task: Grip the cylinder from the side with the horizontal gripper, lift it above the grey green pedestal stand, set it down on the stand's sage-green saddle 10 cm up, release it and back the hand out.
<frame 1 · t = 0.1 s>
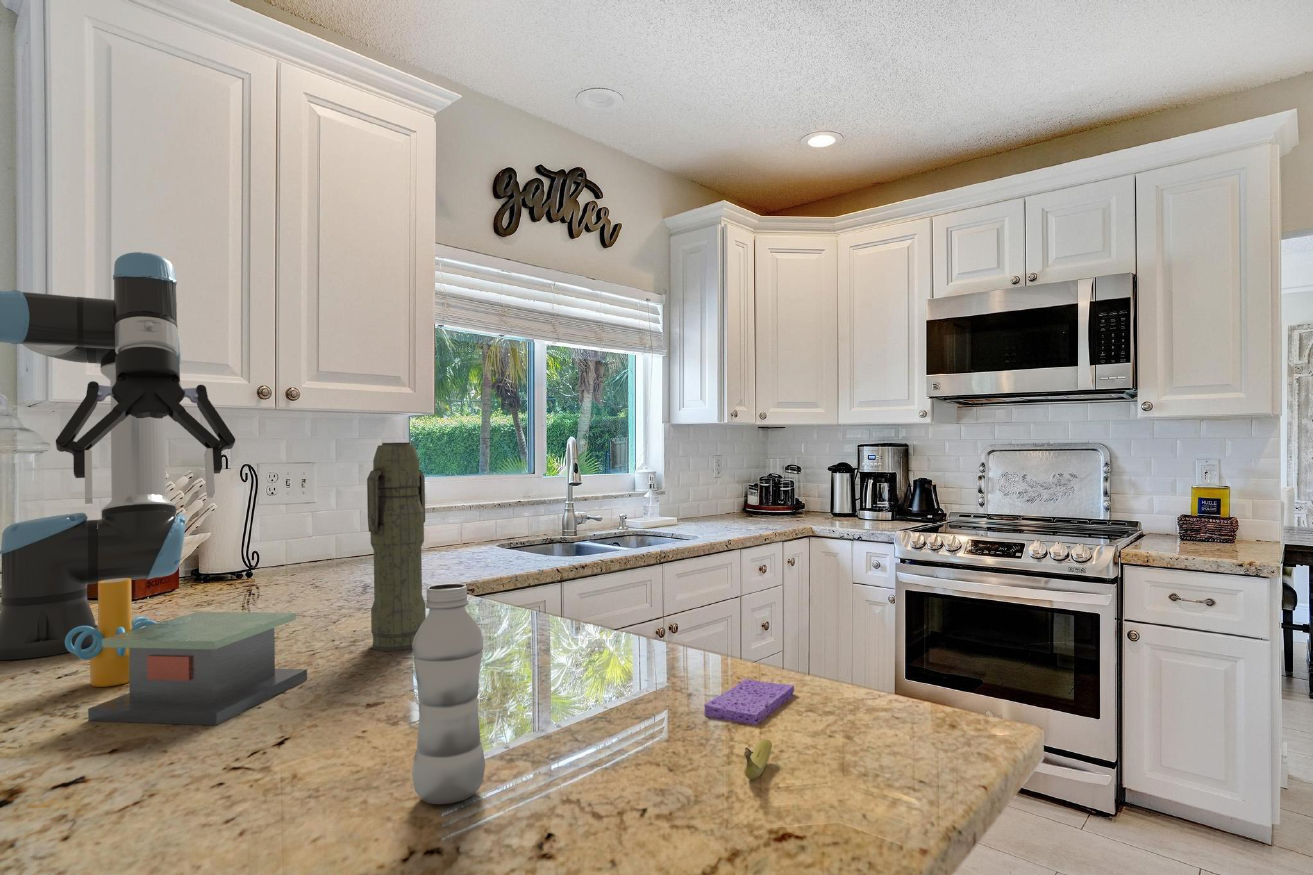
hand: (152, 498, 99), 28 cm above the countertop, tool tilted 20°, fingers open, 13 cm apart
banana: (757, 776, 73), on the countertop
grey green pedestal stand: (206, 698, 100), on the countertop
cylinder: (115, 682, 109), on the countertop
plastic bottle: (449, 799, 70), on the countertop
sponges: (751, 709, 93), on the countertop
thermos: (399, 645, 127), on the countertop
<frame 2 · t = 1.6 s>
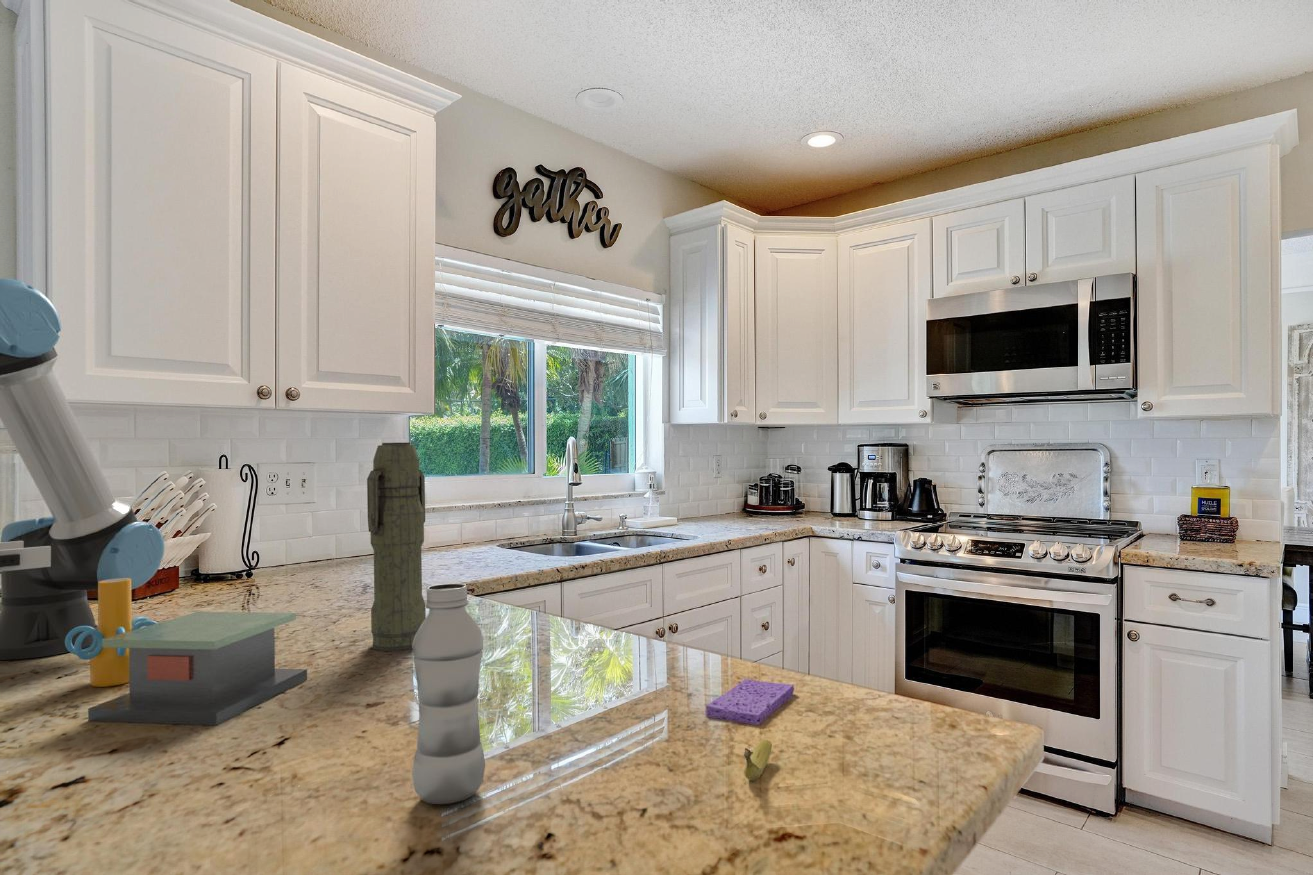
hand: (36, 553, 102), 20 cm above the countertop, tool horizontal, fingers open, 13 cm apart
nothing on the countertop moved.
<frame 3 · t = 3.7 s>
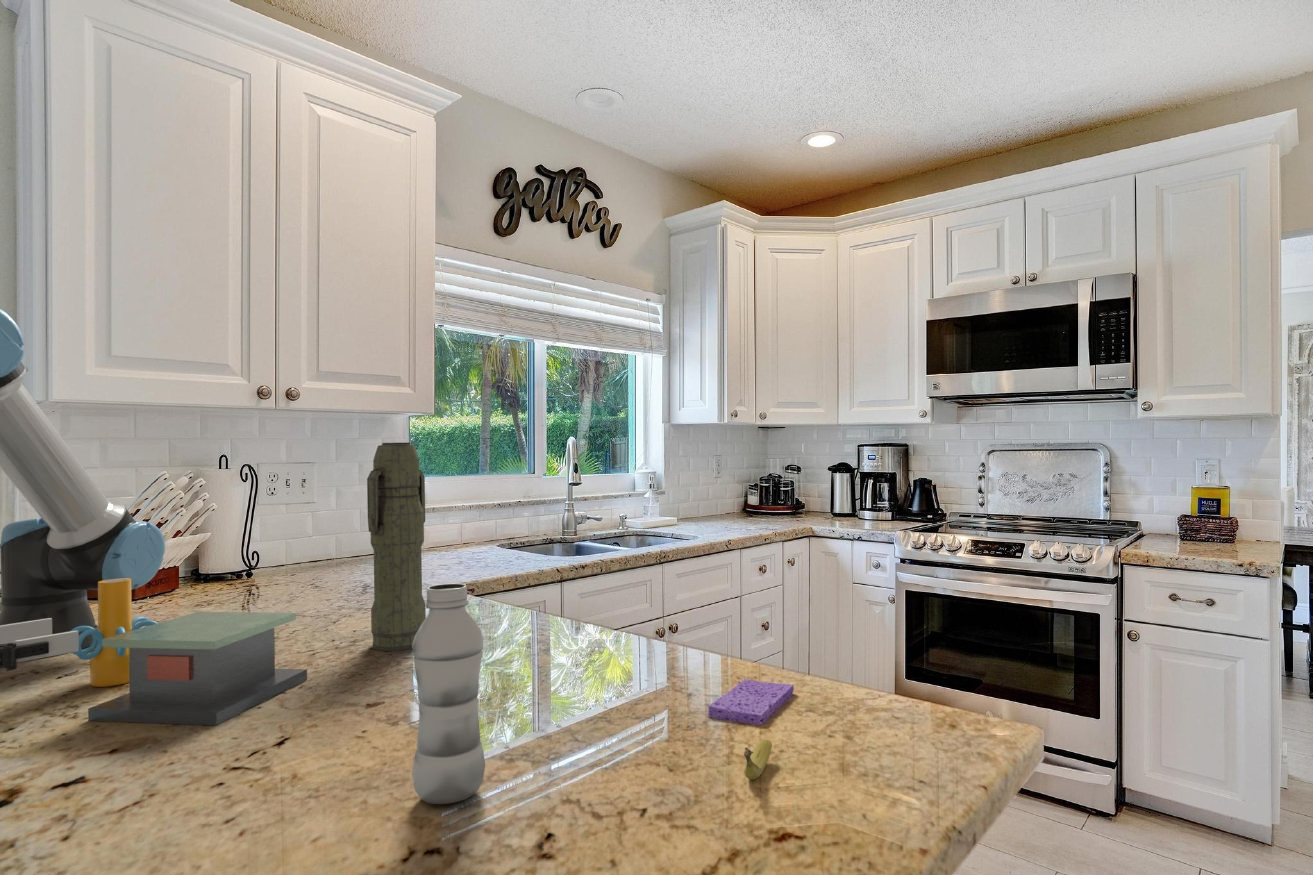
hand: (64, 633, 104), 8 cm above the countertop, tool horizontal, fingers open, 13 cm apart
nothing on the countertop moved.
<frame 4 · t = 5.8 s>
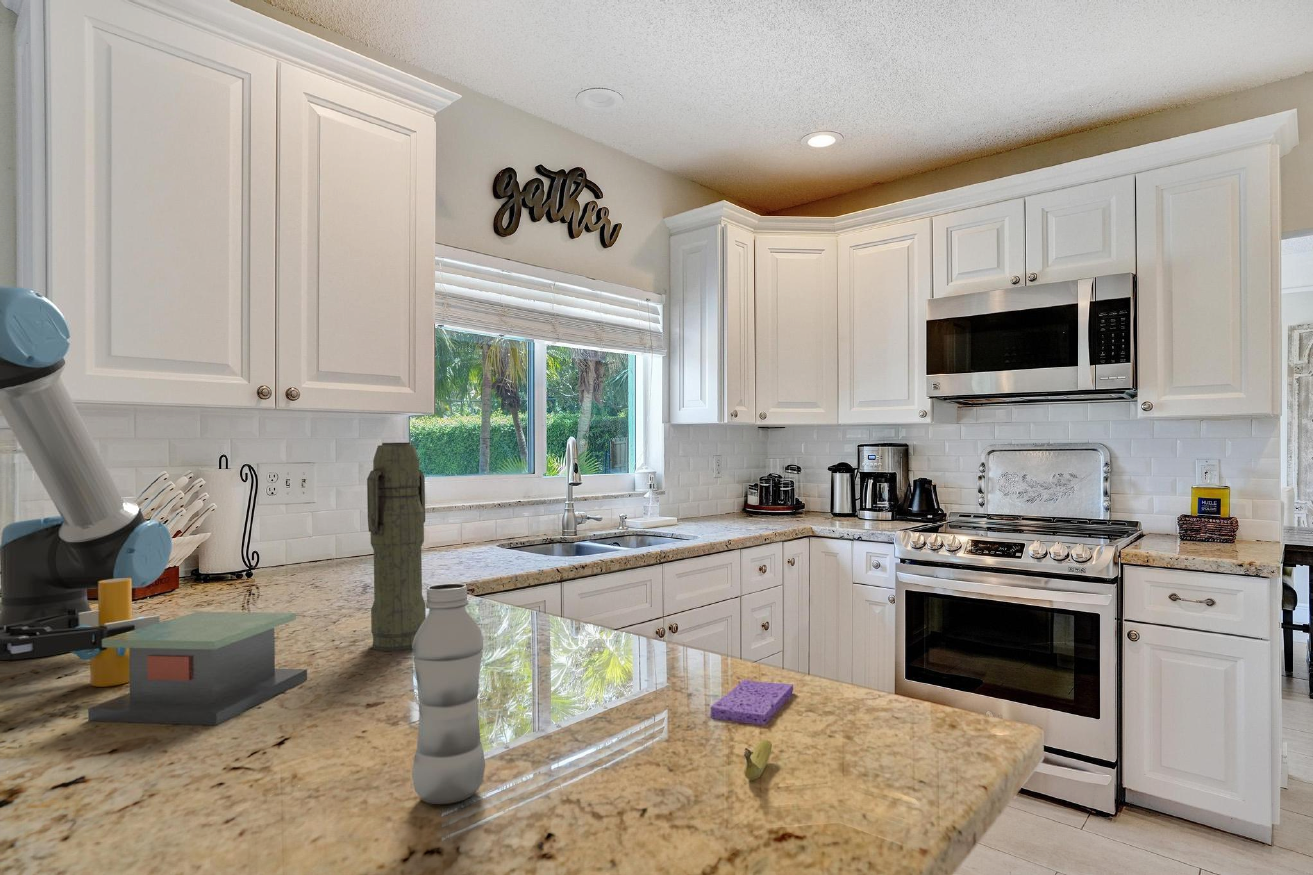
hand: (143, 619, 112), 9 cm above the countertop, tool horizontal, fingers closed on cylinder, 12 cm apart
cylinder: (115, 682, 109), on the countertop, touching gripper
everything else where it was.
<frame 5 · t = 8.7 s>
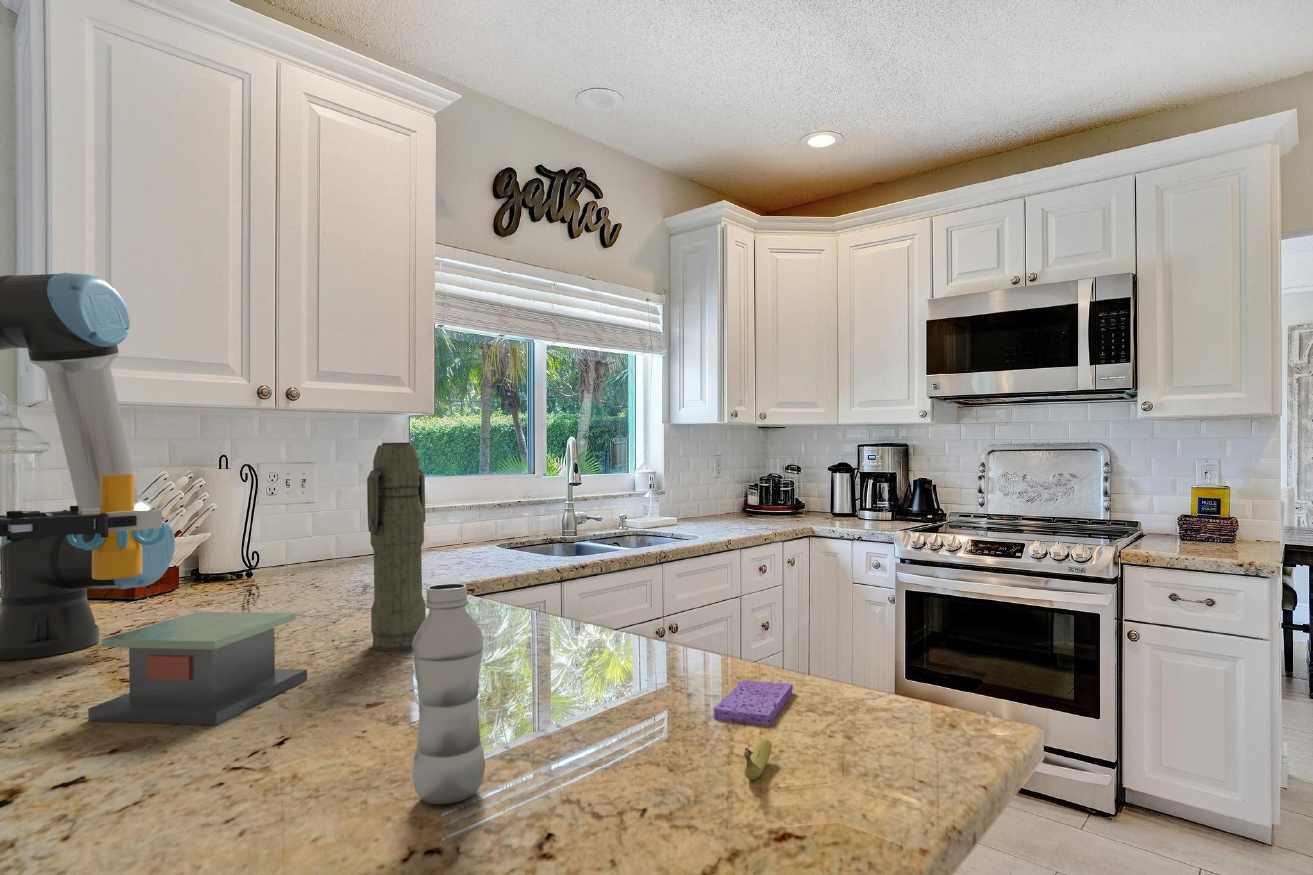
hand: (146, 516, 110), 24 cm above the countertop, tool horizontal, fingers closed on cylinder, 12 cm apart
cylinder: (117, 578, 107), point 16 cm above the countertop, touching gripper
everything else where it was.
when the fingers open (20 cm above the countertop, at t = 11.6 s): cylinder drops 1 cm, resting on grey green pedestal stand.
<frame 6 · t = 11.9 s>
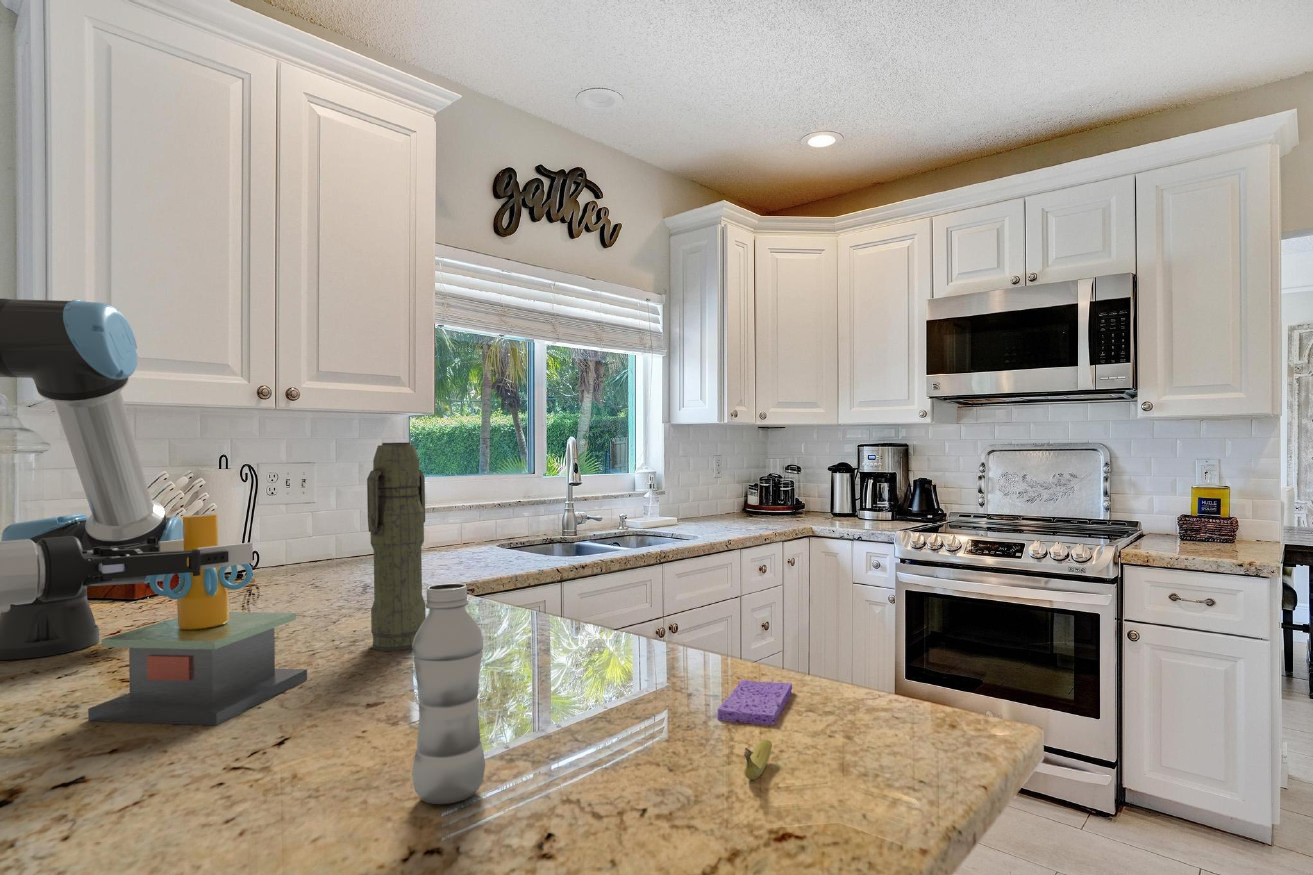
hand: (230, 549, 103), 20 cm above the countertop, tool horizontal, fingers open, 13 cm apart
cylinder: (204, 626, 100), point 10 cm above the countertop, touching grey green pedestal stand
everything else where it was.
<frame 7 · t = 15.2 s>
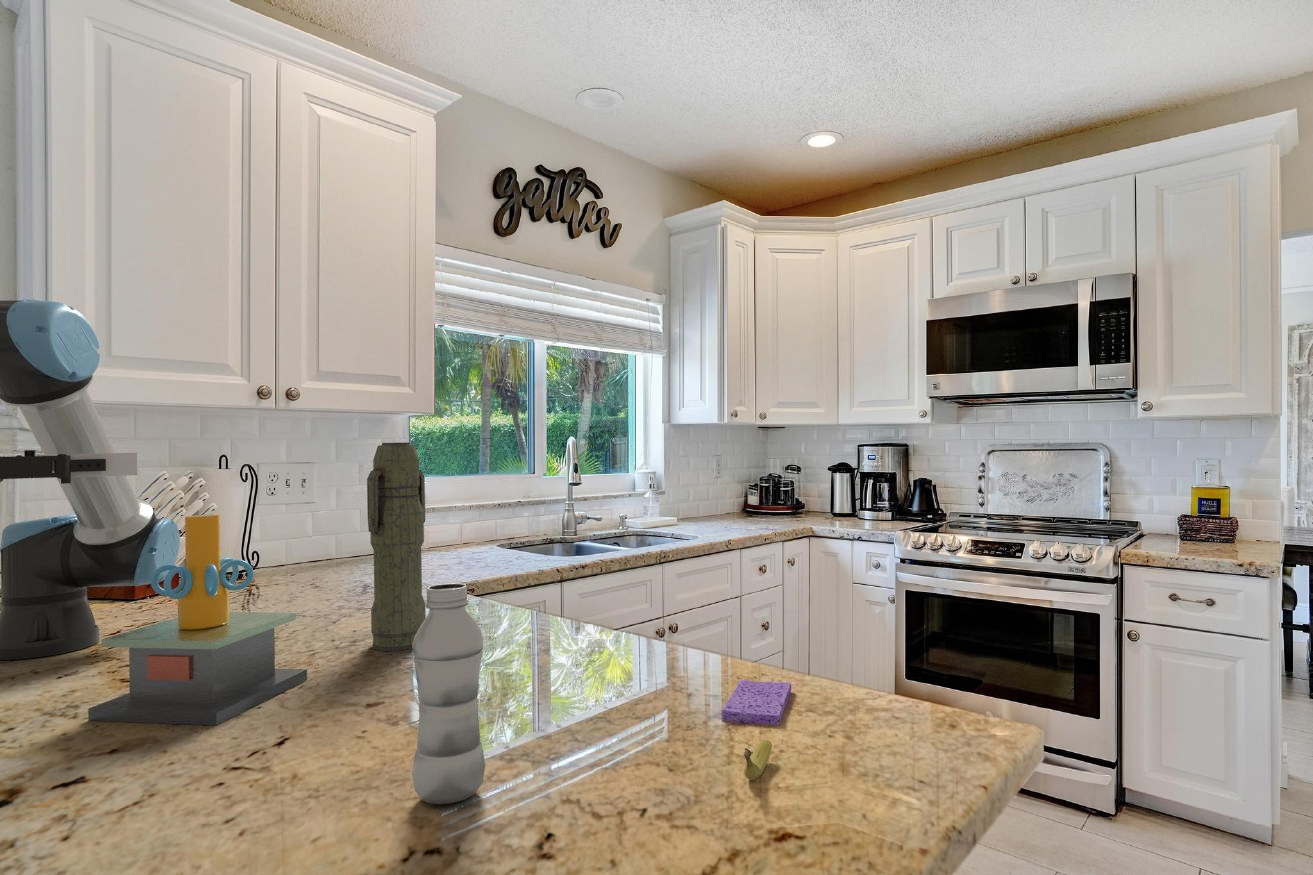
hand: (118, 463, 93), 32 cm above the countertop, tool horizontal, fingers open, 13 cm apart
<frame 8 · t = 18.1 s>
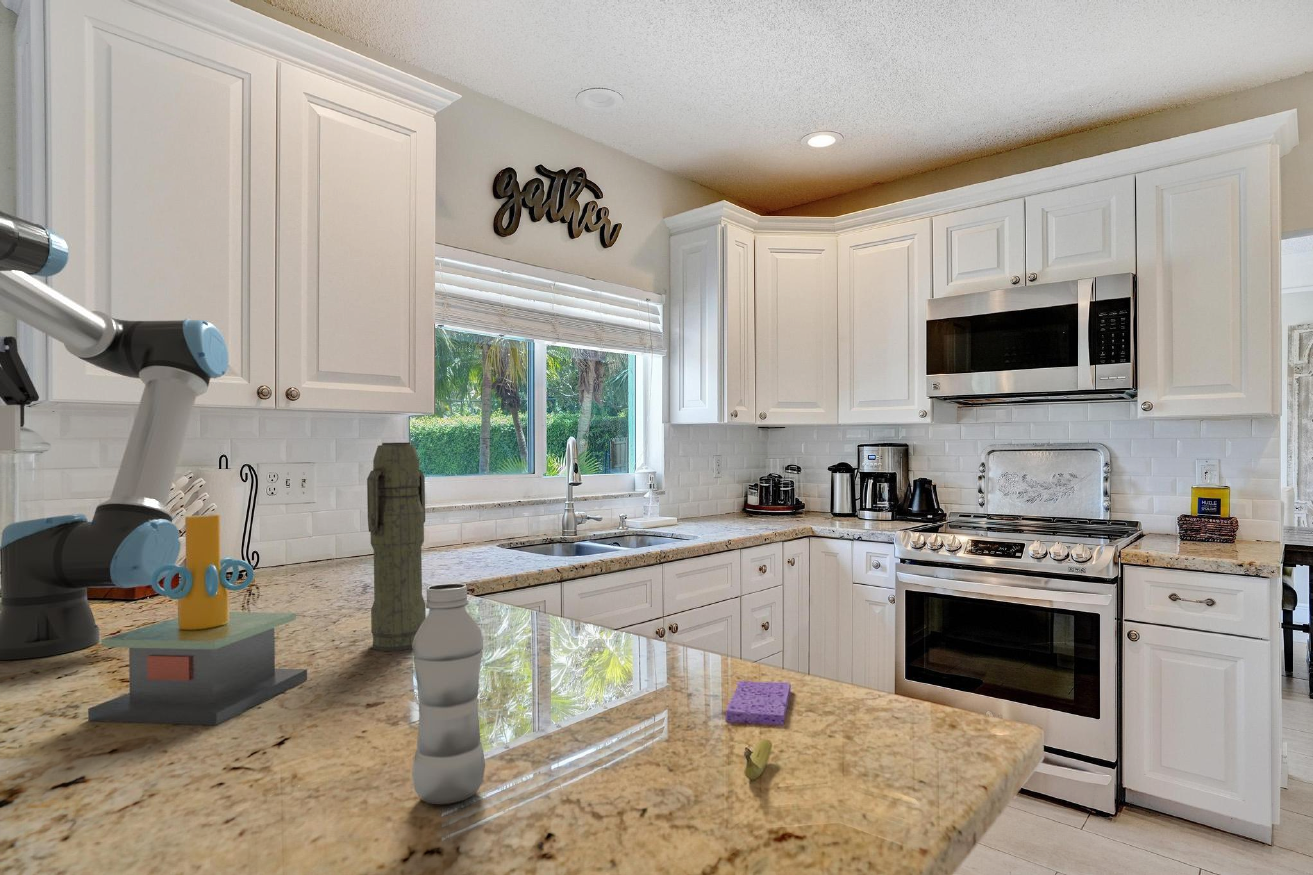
at the end: cylinder inside the target area on the grey green pedestal stand (0.1 cm from its centre), point 9.8 cm above the grey green pedestal stand's base; cylinder tilted 0°; the gripper is holding nothing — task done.
